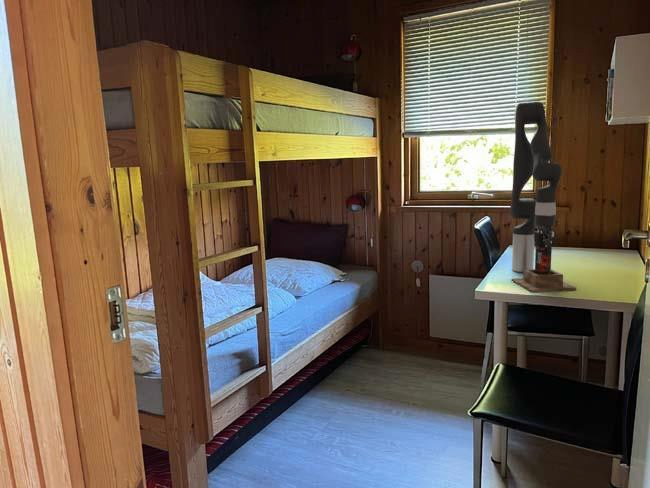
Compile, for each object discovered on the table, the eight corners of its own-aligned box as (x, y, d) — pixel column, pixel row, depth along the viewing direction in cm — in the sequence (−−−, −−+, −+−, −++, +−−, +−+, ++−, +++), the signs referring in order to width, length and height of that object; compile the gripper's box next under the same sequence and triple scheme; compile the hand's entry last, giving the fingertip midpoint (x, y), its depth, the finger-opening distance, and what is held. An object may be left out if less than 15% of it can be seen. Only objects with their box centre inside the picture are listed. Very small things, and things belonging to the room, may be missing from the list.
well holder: (511, 281, 209) (511, 268, 208) (552, 279, 210) (553, 266, 209) (531, 292, 191) (531, 278, 190) (576, 290, 192) (576, 276, 191)
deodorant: (533, 270, 199) (534, 233, 196) (536, 267, 204) (537, 231, 201) (549, 271, 195) (550, 234, 193) (551, 268, 200) (553, 232, 198)
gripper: (527, 212, 203) (526, 252, 205) (544, 215, 188) (543, 258, 191) (545, 211, 203) (543, 251, 206) (563, 215, 189) (561, 258, 192)
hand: (543, 254), depth 198 cm, fingers closed on deodorant, 6 cm apart
